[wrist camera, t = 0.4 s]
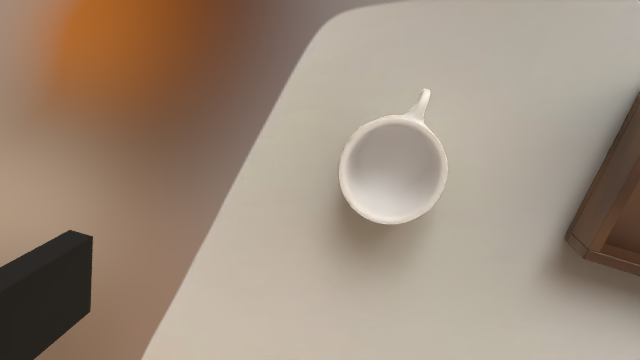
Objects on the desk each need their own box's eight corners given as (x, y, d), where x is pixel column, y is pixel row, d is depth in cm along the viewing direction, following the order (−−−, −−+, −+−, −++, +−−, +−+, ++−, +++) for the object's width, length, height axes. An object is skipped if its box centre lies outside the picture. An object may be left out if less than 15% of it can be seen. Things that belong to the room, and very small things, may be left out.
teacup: (414, 213, 35) (417, 240, 30) (331, 178, 35) (321, 199, 30) (469, 105, 31) (485, 114, 26) (378, 67, 32) (376, 69, 27)
